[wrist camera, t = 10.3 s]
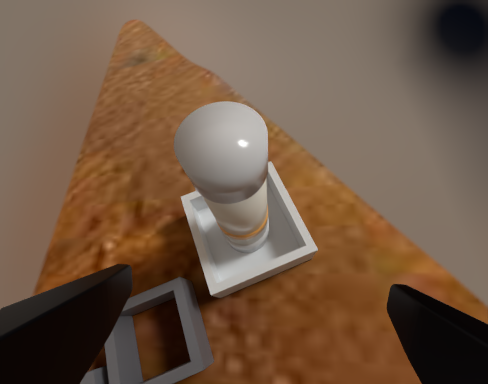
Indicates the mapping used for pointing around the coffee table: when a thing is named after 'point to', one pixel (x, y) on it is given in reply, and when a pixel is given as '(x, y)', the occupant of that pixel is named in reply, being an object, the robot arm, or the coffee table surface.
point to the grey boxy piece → (96, 376)
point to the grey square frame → (125, 346)
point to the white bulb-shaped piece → (229, 169)
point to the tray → (256, 263)
